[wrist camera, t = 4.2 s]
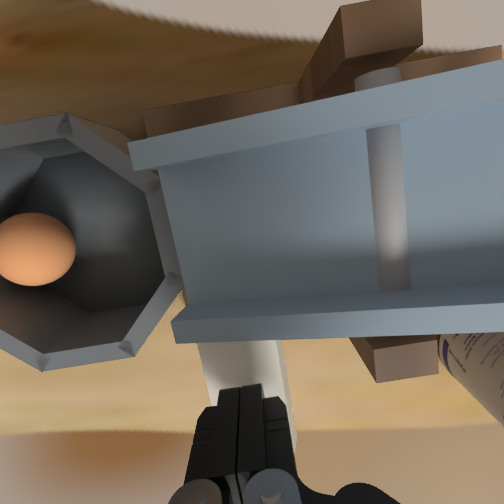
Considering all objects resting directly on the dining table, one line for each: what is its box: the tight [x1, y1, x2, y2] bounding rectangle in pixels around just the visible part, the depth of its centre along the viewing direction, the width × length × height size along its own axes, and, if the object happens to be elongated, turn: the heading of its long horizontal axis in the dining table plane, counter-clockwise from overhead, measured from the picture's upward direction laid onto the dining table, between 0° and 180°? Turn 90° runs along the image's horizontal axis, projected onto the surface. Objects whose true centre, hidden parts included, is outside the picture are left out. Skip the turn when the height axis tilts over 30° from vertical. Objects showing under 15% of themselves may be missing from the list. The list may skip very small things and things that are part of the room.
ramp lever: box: [127, 59, 504, 454], centre depth 10 cm, size 14×13×5 cm
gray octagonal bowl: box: [0, 113, 184, 372], centre depth 16 cm, size 10×10×5 cm
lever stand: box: [141, 0, 502, 383], centre depth 14 cm, size 17×11×9 cm, turn 100°
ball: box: [0, 213, 76, 286], centre depth 16 cm, size 4×4×4 cm
